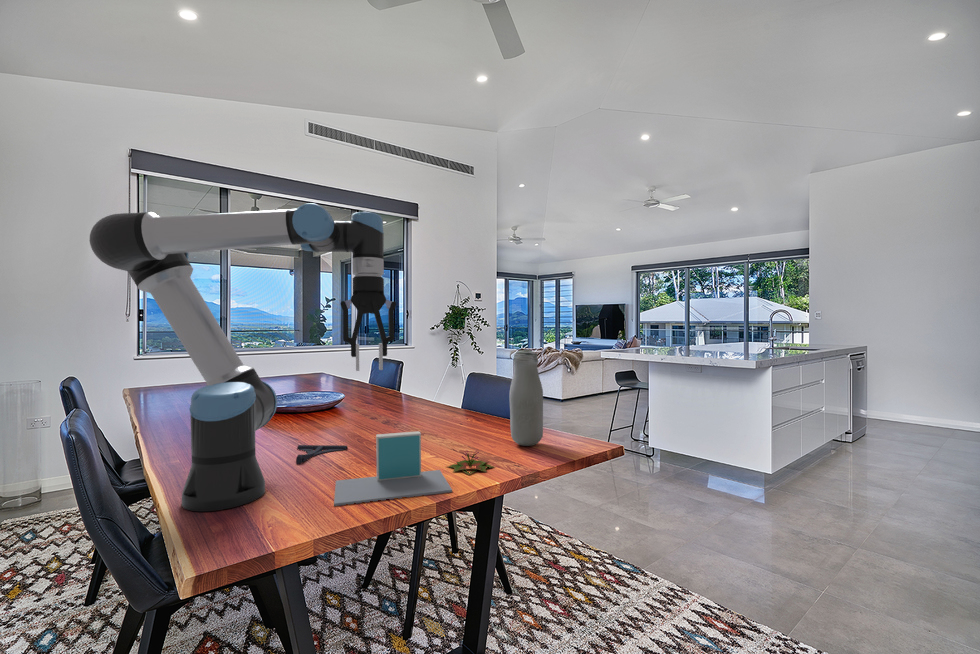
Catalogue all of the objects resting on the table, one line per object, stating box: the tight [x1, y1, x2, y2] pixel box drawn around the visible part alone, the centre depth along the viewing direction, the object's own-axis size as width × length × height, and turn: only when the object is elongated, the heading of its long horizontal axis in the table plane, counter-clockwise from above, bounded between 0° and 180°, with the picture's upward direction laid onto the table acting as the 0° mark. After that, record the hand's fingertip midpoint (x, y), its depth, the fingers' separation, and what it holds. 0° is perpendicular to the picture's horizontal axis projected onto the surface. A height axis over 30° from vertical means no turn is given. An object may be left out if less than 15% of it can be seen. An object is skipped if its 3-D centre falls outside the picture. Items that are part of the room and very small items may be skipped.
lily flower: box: [445, 449, 495, 476], centre depth 115 cm, size 12×12×5 cm
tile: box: [375, 431, 422, 481], centre depth 107 cm, size 10×3×10 cm, turn 107°
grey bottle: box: [508, 349, 544, 447], centre depth 136 cm, size 10×10×28 cm
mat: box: [333, 469, 453, 507], centre depth 102 cm, size 24×14×1 cm, turn 107°
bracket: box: [295, 444, 349, 465], centre depth 127 cm, size 14×15×3 cm
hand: (369, 369), depth 115 cm, fingers open, 5 cm apart
